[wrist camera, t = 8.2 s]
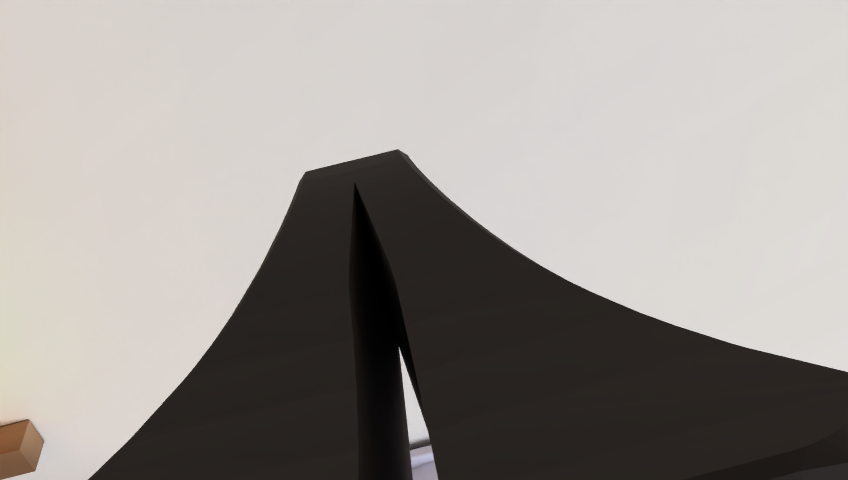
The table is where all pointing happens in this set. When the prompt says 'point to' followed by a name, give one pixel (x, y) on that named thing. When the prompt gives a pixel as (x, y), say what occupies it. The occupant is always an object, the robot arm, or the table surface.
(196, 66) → the table surface
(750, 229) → the table surface
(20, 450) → the bay
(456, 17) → the table surface
